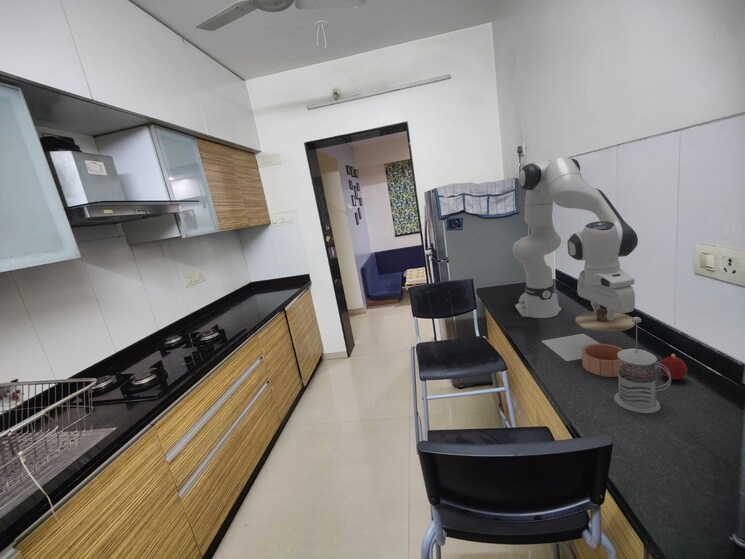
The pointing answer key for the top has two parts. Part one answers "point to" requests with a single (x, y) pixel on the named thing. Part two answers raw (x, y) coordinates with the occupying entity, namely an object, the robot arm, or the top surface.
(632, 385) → the french press
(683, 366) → the pomegranate
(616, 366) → the bowl
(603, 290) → the robot arm
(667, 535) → the top surface
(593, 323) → the lid
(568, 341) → the mat
